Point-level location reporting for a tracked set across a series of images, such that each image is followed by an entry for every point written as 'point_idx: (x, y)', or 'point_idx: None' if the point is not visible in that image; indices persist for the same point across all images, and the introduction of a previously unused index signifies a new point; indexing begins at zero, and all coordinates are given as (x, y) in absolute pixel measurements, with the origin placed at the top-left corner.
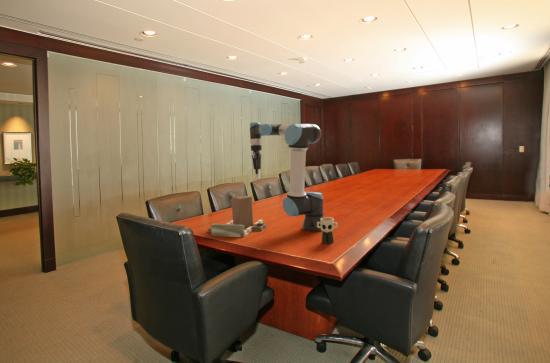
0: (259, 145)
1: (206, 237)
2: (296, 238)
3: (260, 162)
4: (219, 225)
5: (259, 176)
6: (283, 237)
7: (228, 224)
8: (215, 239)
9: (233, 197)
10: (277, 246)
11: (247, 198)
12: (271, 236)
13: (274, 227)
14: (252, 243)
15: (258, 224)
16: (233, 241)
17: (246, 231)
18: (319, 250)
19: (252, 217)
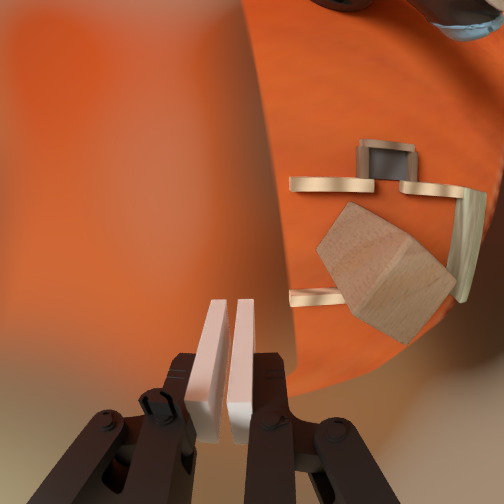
0: None
1: None
2: (441, 34)
3: (60, 495)
4: (472, 273)
5: (224, 315)
6: (445, 66)
7: (474, 247)
8: None
9: (418, 331)
10: (493, 83)
11: (428, 251)
12: (447, 101)
13: (356, 106)
14: (493, 146)
15: (366, 172)
16: (486, 202)
17: (453, 186)
18: None
19: (363, 208)
